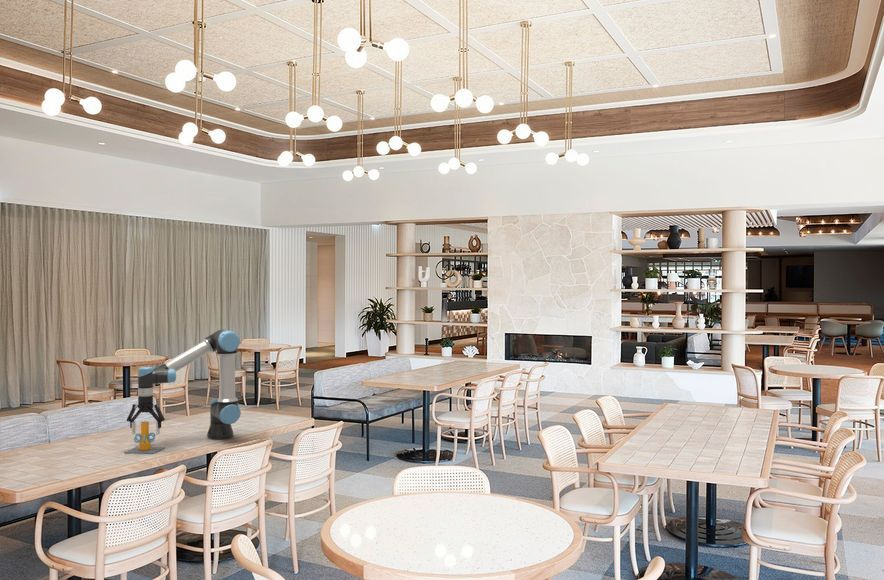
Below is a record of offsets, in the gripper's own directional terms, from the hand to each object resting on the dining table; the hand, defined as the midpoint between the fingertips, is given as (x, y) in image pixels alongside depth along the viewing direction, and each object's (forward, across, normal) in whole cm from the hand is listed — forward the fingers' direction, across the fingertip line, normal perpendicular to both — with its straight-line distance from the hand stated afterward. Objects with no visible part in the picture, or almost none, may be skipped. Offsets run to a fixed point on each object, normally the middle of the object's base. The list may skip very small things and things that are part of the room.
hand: (145, 434), depth 385 cm
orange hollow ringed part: (+9, -1, 0) cm, 9 cm away
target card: (+9, 0, 0) cm, 9 cm away
